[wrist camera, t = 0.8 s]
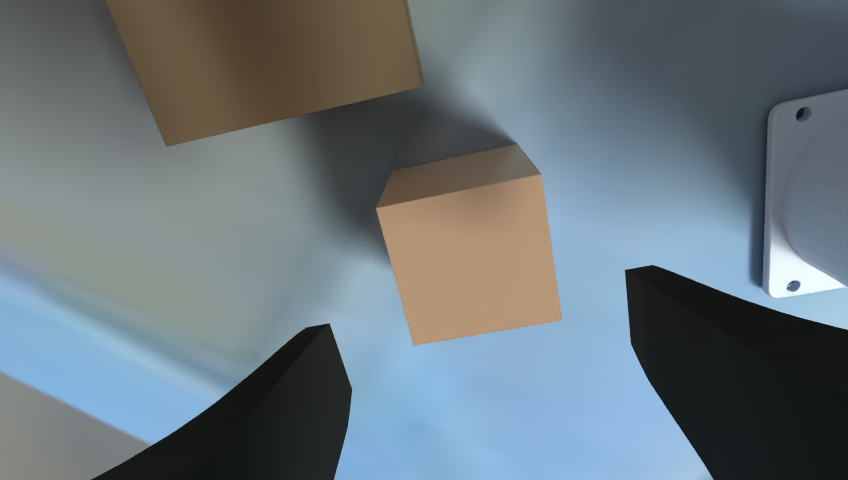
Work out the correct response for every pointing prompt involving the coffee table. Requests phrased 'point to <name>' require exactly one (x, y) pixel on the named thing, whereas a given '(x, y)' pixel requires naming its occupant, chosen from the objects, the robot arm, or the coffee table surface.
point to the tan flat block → (263, 58)
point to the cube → (470, 245)
